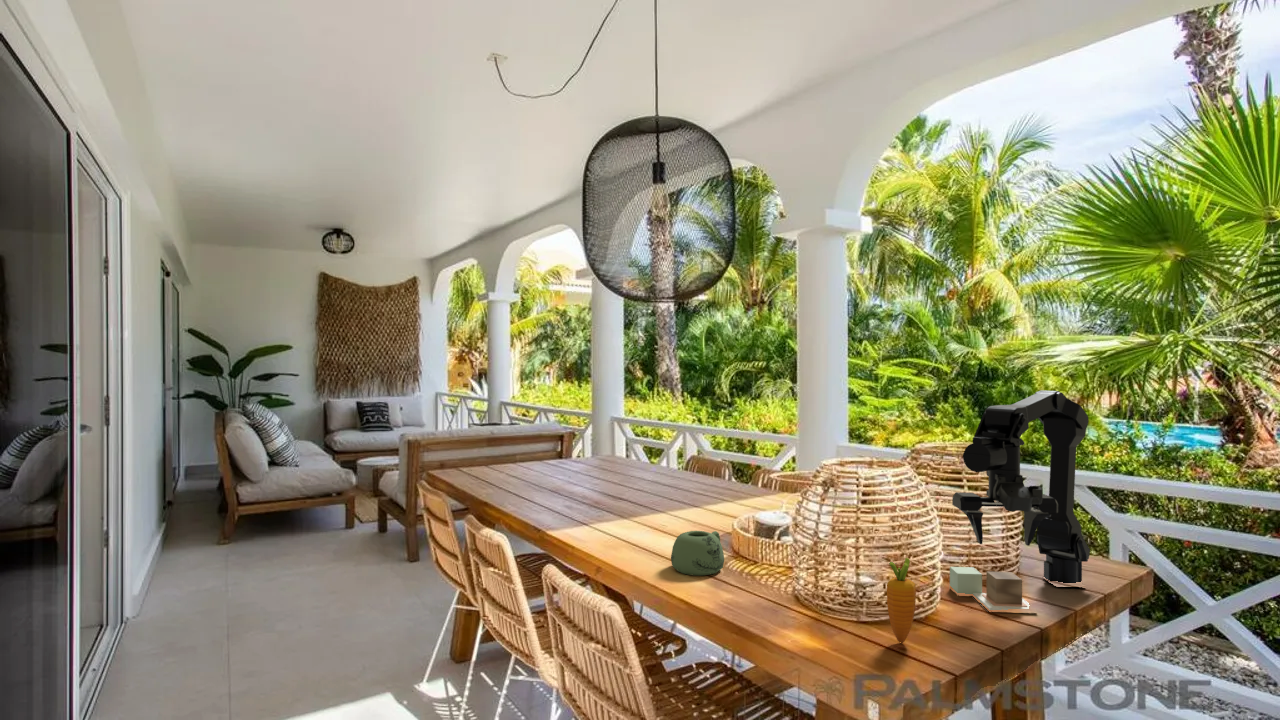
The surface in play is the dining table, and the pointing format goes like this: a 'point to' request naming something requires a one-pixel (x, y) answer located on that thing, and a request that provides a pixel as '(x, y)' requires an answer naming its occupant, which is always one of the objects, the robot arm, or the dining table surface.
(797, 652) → the dining table surface
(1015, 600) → the walnut block
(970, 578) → the sage block
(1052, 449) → the robot arm
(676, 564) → the green animal planter
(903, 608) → the carrot
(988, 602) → the bordered square coaster
